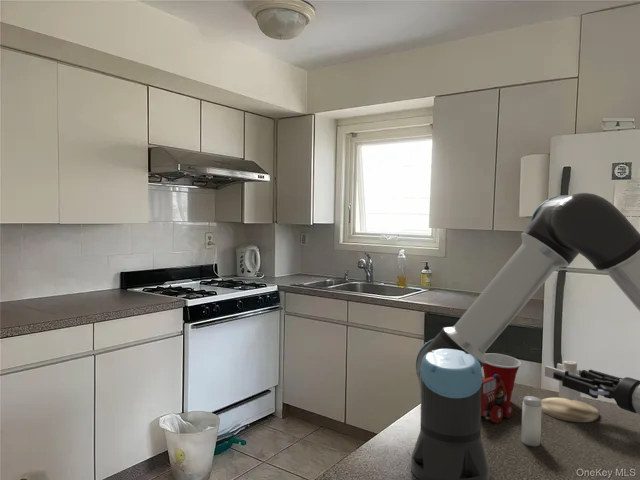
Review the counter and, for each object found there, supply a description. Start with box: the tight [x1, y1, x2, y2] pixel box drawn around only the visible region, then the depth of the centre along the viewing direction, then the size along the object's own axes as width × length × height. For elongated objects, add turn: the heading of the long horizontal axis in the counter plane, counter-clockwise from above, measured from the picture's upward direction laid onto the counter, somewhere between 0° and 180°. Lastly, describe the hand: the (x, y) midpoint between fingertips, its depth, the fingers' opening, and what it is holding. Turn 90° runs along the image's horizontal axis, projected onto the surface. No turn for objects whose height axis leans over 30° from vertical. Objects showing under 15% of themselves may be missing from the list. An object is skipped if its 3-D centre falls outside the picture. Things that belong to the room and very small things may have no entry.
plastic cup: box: [482, 352, 522, 402], centre depth 133 cm, size 11×11×12 cm
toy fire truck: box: [481, 374, 514, 424], centre depth 123 cm, size 7×12×10 cm, turn 130°
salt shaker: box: [520, 395, 543, 447], centre depth 108 cm, size 4×4×10 cm
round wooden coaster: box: [541, 397, 600, 423], centre depth 126 cm, size 14×14×1 cm
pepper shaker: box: [558, 360, 582, 400], centre depth 126 cm, size 4×4×10 cm
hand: (551, 369), depth 131 cm, fingers closed on pepper shaker, 4 cm apart
